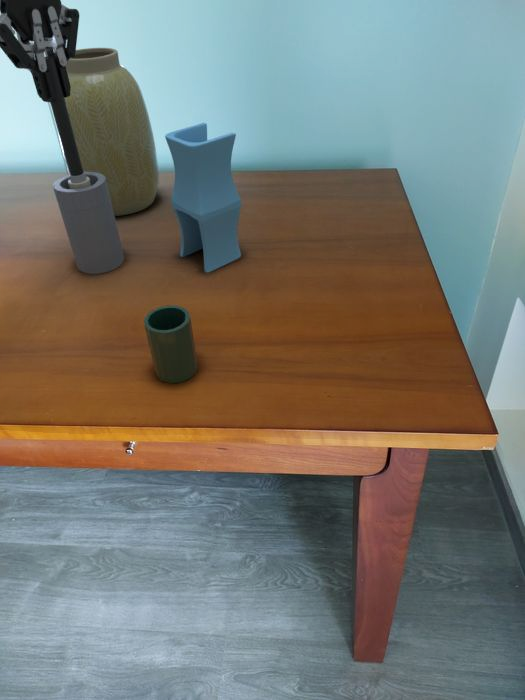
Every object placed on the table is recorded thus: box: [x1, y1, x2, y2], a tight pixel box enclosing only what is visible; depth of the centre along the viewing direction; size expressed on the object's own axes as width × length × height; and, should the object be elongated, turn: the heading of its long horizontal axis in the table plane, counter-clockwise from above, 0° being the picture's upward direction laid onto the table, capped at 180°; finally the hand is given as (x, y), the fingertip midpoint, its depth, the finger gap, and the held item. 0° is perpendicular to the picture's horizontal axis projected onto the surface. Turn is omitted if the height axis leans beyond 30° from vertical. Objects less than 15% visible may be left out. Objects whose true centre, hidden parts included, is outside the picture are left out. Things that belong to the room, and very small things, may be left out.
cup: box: [52, 172, 125, 275], centre depth 85 cm, size 8×8×14 cm
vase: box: [58, 47, 161, 217], centre depth 99 cm, size 17×17×27 cm
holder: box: [143, 304, 199, 384], centre depth 65 cm, size 5×5×8 cm
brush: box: [45, 56, 91, 189], centre depth 76 cm, size 3×3×22 cm
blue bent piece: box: [164, 122, 242, 274], centre depth 83 cm, size 8×8×20 cm
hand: (56, 98), depth 72 cm, fingers closed on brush, 2 cm apart
